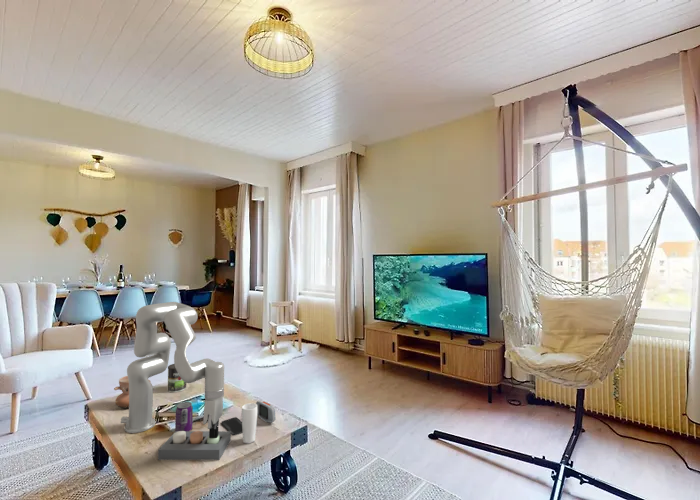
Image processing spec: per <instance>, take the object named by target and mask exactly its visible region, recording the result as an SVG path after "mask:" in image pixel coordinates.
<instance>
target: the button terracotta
mask: <svg viewBox="0 0 700 500" xmlns="http://www.w3.org/2000/svg"><path fill="white" fill-rule="evenodd" d="M202 441H203V432H202V431H201V430H195V432H193V433H191V434H190V444H201V443H202Z"/></svg>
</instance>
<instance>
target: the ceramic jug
mask: <svg viewBox="0 0 700 500" xmlns="http://www.w3.org/2000/svg"><path fill="white" fill-rule="evenodd" d="M148 380H149V381H150V382H151V380H150V379H148ZM151 383H152V382H151ZM118 384H119V386H115V387H114V388H113V390H114V391H117V390H119V391H121V392H122V393H120V394H119V395H118V396H117V397H116V398H115V405H116V406H118V407H119V408H129V380H128V375H124V376H122V377H120V378H119V379H118Z"/></svg>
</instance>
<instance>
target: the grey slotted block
mask: <svg viewBox="0 0 700 500" xmlns="http://www.w3.org/2000/svg"><path fill="white" fill-rule="evenodd" d="M195 431H196V430H195ZM195 431H194V430H193V431H192V430H190V431H185V432H186V441H185V442H184V444H173V434H174V433H176V432H178V431H174V433H173V434H172V435H171V436H169V437H168V439H167V440H166V441H165V442H164V443H163V444H162V445H161V446H160V447H159V448H158V451H157V452H158V453H157V455H158V456H157V460H158V461H220V459H221V458H222V457H223V455H224V453H225V451H226V450H227V447H228V446H229V444H230V443H231V441H232V440H231V439H232V436H231V435H232V434H231V431H228V430H225V431H221V430H218V435H219V436H220V440H219V443H218V444H207V437H208V436H209V430H208V431H202V432H203V441H202V443H201V444H190V434H191V433H193V432H195Z"/></svg>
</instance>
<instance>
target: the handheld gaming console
mask: <svg viewBox="0 0 700 500" xmlns="http://www.w3.org/2000/svg"><path fill="white" fill-rule="evenodd" d="M255 404H257V408H258V413H257V417H258V418H260V419H261V420H262V421H264V422H266V423H273V422H275V421H276V409H275V407H273V406H272V405H271V404H270V403H268V402H266V401H262V400H258V401H256V402H255Z"/></svg>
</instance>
